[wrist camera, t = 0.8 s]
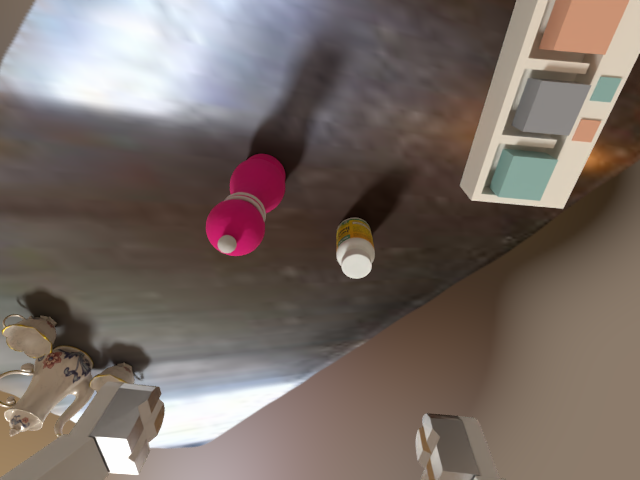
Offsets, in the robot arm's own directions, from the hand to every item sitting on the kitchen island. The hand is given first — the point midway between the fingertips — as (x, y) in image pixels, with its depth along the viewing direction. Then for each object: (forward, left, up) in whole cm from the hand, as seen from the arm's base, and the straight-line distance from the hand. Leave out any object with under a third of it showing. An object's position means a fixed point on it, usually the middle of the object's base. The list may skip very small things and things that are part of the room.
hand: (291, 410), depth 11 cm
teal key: (+3, +24, -37) cm, 44 cm away
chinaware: (+51, -48, -41) cm, 81 cm away
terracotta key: (-13, +24, -37) cm, 46 cm away
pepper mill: (+8, -9, -41) cm, 42 cm away
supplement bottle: (+16, +5, -41) cm, 44 cm away
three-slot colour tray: (-5, +25, -41) cm, 48 cm away
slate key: (-5, +24, -37) cm, 45 cm away
